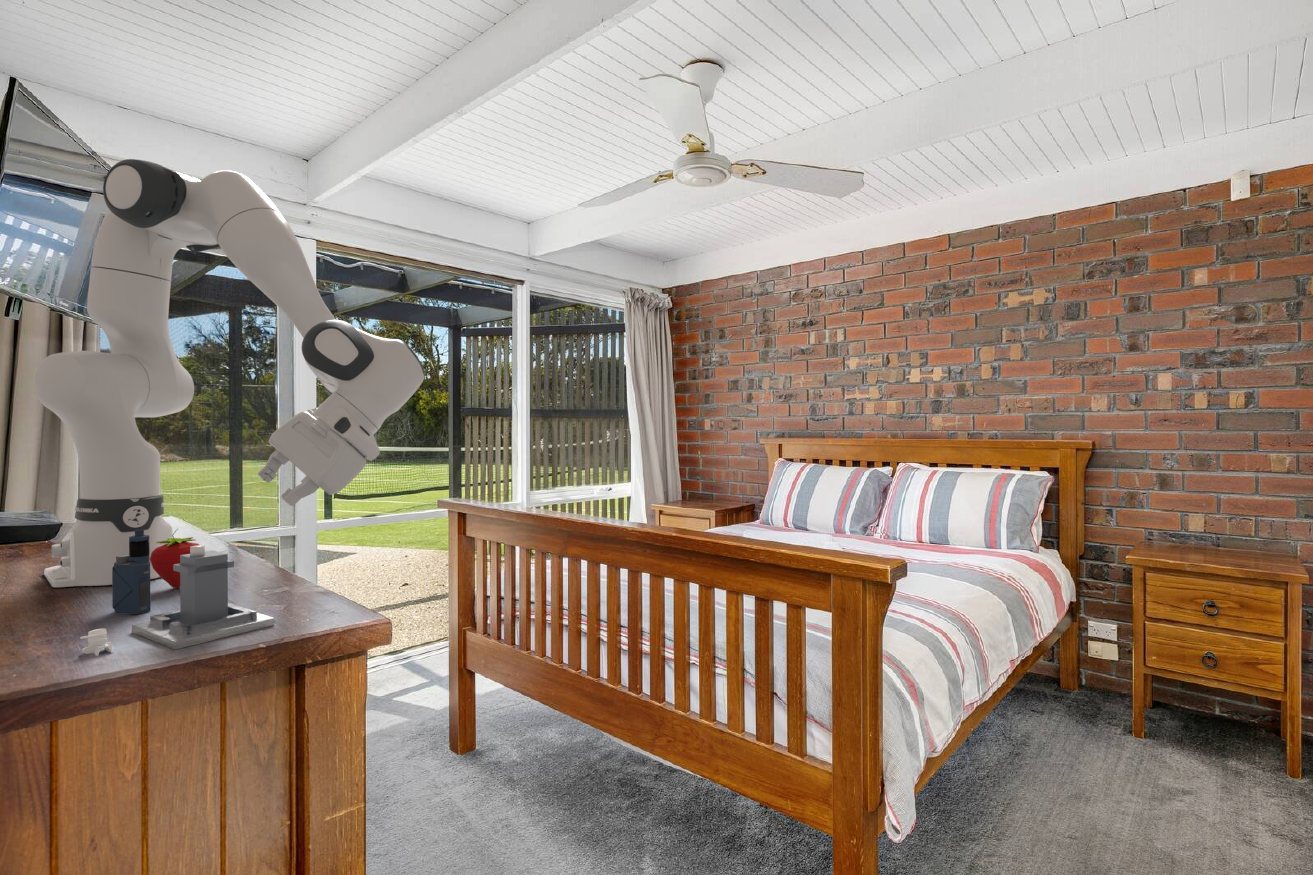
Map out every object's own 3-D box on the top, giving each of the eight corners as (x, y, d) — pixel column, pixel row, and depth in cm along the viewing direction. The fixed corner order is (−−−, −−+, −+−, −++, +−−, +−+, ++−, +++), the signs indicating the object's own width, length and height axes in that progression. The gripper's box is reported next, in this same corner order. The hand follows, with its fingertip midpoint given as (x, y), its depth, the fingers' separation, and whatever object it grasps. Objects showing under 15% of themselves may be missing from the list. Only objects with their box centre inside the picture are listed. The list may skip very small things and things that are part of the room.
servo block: (173, 631, 89) (173, 547, 89) (219, 621, 94) (219, 541, 94) (188, 636, 87) (187, 550, 87) (234, 626, 92) (233, 544, 92)
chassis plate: (131, 632, 89) (131, 617, 89) (229, 611, 99) (229, 597, 99) (174, 649, 82) (174, 633, 82) (274, 625, 93) (274, 610, 92)
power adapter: (110, 651, 83) (110, 625, 83) (116, 656, 81) (115, 630, 81) (78, 657, 81) (77, 631, 80) (83, 663, 79) (83, 636, 79)
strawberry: (211, 586, 113) (211, 526, 113) (159, 595, 107) (158, 532, 107) (194, 581, 117) (194, 523, 116) (143, 590, 110) (142, 529, 110)
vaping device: (138, 615, 96) (137, 531, 96) (108, 613, 97) (107, 530, 97) (155, 610, 99) (154, 528, 98) (125, 608, 100) (125, 527, 100)
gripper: (301, 392, 111) (234, 454, 107) (358, 432, 99) (284, 504, 94) (328, 416, 116) (264, 477, 111) (385, 457, 103) (316, 527, 99)
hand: (273, 490), depth 103 cm, fingers open, 8 cm apart
